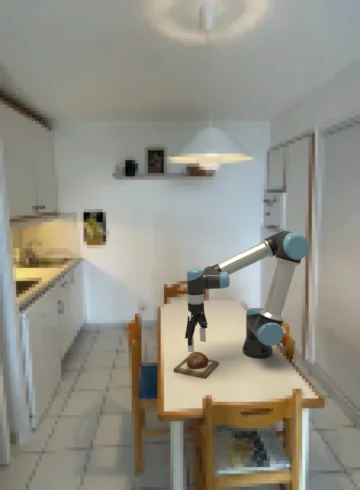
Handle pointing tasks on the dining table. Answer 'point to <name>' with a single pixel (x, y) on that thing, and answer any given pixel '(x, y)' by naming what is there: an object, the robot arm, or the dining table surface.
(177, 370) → the walnut frame
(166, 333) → the dining table surface
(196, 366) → the bread roll
